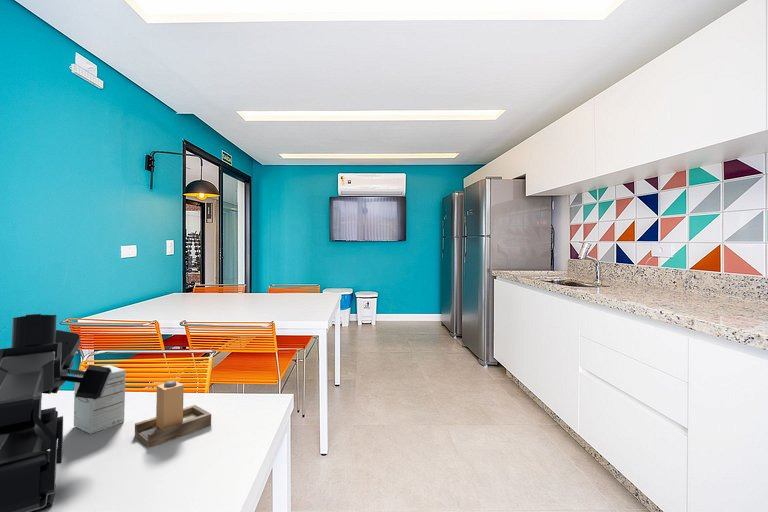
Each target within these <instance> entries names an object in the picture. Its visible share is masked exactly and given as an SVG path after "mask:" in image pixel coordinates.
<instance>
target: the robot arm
mask: <svg viewBox="0 0 768 512" xmlns="http://www.w3.org/2000/svg"><path fill="white" fill-rule="evenodd" d="M57 318H58V316H57V314H42V313H33V314H26V315H24V316H18V317H17V316H16V317H13V318H12V324H11V325H12V328H11V331H12V332H11V346H10V347H5V348H4V347H3V348H0V512H39V511H42V510H46V509H49V508H51V507H52V506H53V503H54V498H55V495H56V494H55V493H56V488H57V479H56V478H57V465H58V464H62V461H63V460H62V459H63V446H64V445H63V442H64V441H63V440H64V415H62V416H59V412H58V411H57V407H50V408H45V409H42V399H43V394H45V395H46V394H48V395H51V394H58V391H59V390H60V387H61V386H64V384H65V382H69V383H75V382H76V383H80V384H79V388H78V390H77V393H76V397H81V398H90V399H98V398H100V397H101V396H102V394H103V392H104V389H105V387H106V385H107V382H108V380H109V377H110V375H111V372H112V370H111V369H110V368H108V367H101V366H100V365H94V364H89V365H88V366H87V368H86V369H85V370H86V371H84V370H80V369H79V370H78V369H73V366H74V364H75V362H74V361H73V360H74V358H75V355H76V352H77V351H78V349H79V347H80V346H81V344H82V343H81V336H80V334H79V333H77V332H73V331H72V332H71V331H68V330H67V331H65V330H61V329H57ZM75 374H76V376H77V375H78V376H80V375H81V376H82V375H83V377H82V378H81V377H75ZM71 375H72V376H71Z"/></svg>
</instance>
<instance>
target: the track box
mask: <svg viewBox="0 0 768 512" xmlns="http://www.w3.org/2000/svg"><path fill="white" fill-rule="evenodd" d="M211 426H212V413H210V412H208V411H207V410H205V409H203V408H202V407H199V406H198V405H196V404H193V405H189V406H186V407H183V422H181V423H178V424H175V425H172V426H169V427H166V428H163V429H160V428H159V427H157V426H156V416H154V417H152V418H149V419H146V420H145V419H144V420H142V421H139V422H136V423H134V437H136V439H138V441H140V442H141V443H143V444H144V446H146V447H147V448H149V449H151V448H155V447H156V446H159V445H162V444H164V443H167V442H169V441H173V440H176V439H178V438H180V437H183V436H187V435H189V434H192V433H195V432H197V431H199V430H202V429H205V428H208V427H211Z"/></svg>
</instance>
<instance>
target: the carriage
mask: <svg viewBox="0 0 768 512" xmlns="http://www.w3.org/2000/svg"><path fill="white" fill-rule="evenodd" d="M184 387H185V386H184V384H183V383H181V382H179V381H177V380H168V381H165V382H164V383H162V384H161V383H160V384H157V385H156V403H155V404H156V410H155V412H156V413H155V414H156V415H155V417H156V426H157V427H159V428H160V429H163V428H166V427H169V426H172V425H175V424H178V423H181V422H183V408H184Z"/></svg>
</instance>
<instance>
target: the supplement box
mask: <svg viewBox="0 0 768 512" xmlns="http://www.w3.org/2000/svg"><path fill="white" fill-rule="evenodd" d="M101 367H108V368H110V369H111V370H112V372H111V375H110V377H109V380H108V382H107V385H106V387H105V389H104V392H103V394H102V396H101V397H100V398H98V399H90V398H81V397H76V393H77V390H78V388H79V384H80V383H76V382H74V391H73V392H74V395H73V396H74V398H73V399H74V400H73V401H74V403H73V427H75V428H77V429H80V430H82V431H84V432H86V433H88V435H90V434H91V435H92V434H94V433H97V432H101V431H103V430H106V429H108V428H111V427H114V426H118V424H121V423H122V424H123V423H124V422H125V403H126V402H125V401H126V399H125V398H126V369H123V368H119V367H117V366H114V365H111V364H107V365H102V366H101ZM83 371H86V369H85V370H83ZM74 377H81V378H82V377H83V375H82V376H81V375H80V376H78V375H77V376H76V374H75V375H74Z"/></svg>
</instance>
